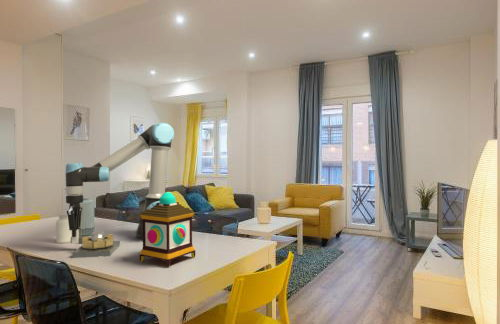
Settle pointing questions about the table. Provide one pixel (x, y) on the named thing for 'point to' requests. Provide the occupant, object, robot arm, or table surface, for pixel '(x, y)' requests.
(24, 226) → the table surface
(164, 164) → the robot arm
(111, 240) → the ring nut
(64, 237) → the pill bottle
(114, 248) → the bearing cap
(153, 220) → the decorative lantern
